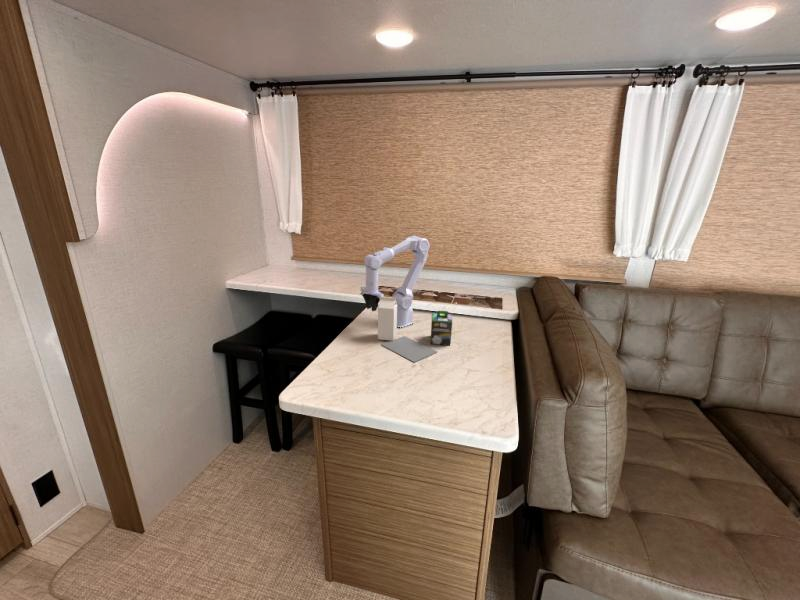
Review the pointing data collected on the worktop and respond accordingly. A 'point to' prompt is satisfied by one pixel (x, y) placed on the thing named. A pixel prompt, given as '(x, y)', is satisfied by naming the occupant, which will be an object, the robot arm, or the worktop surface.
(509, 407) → the worktop surface
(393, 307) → the cream plain cuboid
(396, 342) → the mat
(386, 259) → the robot arm
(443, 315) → the chalk box
